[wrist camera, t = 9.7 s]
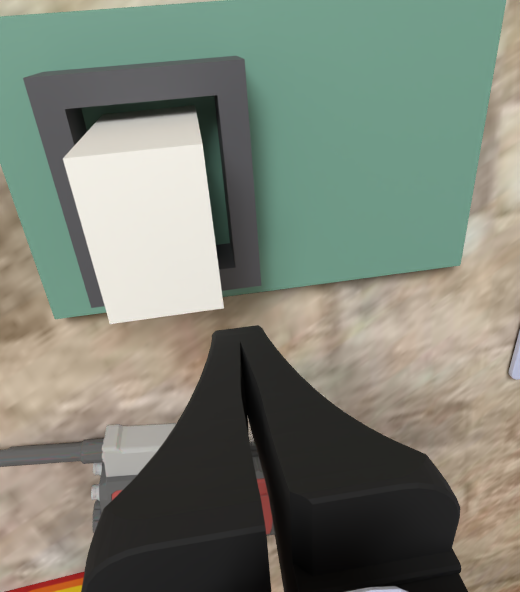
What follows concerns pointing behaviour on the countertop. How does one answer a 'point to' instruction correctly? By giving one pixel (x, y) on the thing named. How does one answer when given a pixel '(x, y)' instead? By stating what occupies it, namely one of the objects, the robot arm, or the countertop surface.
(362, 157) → the board
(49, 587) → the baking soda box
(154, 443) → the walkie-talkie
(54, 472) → the countertop surface
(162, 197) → the plug
